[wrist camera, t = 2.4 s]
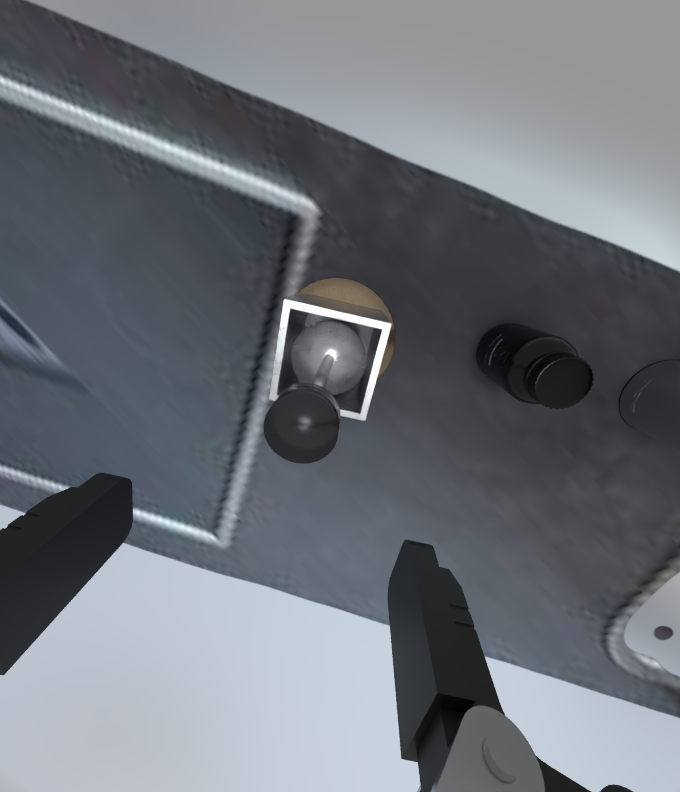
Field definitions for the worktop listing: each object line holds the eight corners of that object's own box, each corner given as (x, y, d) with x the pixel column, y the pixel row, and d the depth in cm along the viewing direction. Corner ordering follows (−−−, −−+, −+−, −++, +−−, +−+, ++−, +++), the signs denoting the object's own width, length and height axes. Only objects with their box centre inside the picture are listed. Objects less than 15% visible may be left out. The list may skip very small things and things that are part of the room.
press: (408, 293, 36) (430, 299, 25) (377, 406, 41) (383, 453, 30) (289, 265, 36) (257, 259, 25) (272, 382, 41) (239, 421, 30)
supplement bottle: (469, 333, 38) (516, 357, 26) (529, 314, 36) (605, 330, 25) (481, 386, 40) (528, 428, 28) (538, 369, 39) (611, 407, 27)
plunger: (374, 330, 28) (388, 380, 14) (356, 399, 31) (353, 502, 16) (299, 312, 28) (238, 346, 14) (287, 383, 31) (225, 474, 16)
